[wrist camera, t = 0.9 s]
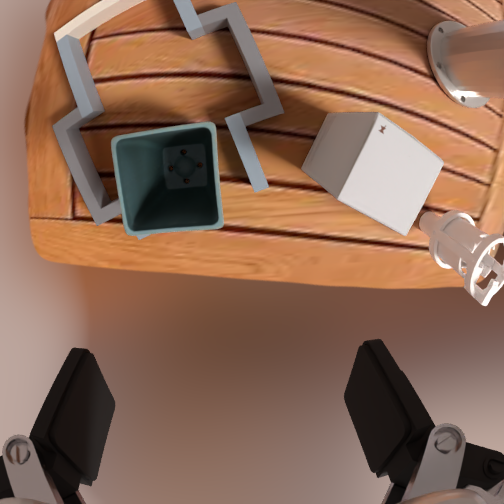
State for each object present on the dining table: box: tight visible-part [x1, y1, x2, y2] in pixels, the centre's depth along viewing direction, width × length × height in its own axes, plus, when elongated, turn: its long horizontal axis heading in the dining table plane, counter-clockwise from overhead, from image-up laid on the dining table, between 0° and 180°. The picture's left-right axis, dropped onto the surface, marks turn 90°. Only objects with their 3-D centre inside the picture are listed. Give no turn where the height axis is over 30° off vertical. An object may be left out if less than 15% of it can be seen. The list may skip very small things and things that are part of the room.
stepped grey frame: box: [52, 0, 284, 240], centre depth 25 cm, size 23×28×3 cm
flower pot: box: [111, 122, 224, 236], centre depth 26 cm, size 9×9×9 cm
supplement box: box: [301, 112, 444, 236], centre depth 25 cm, size 7×7×13 cm
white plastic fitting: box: [419, 210, 504, 306], centre depth 27 cm, size 7×7×15 cm
